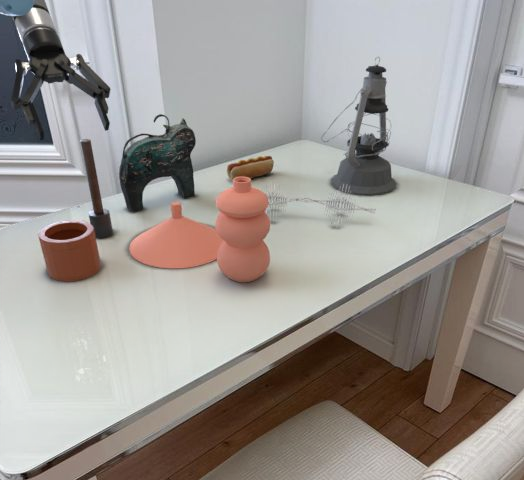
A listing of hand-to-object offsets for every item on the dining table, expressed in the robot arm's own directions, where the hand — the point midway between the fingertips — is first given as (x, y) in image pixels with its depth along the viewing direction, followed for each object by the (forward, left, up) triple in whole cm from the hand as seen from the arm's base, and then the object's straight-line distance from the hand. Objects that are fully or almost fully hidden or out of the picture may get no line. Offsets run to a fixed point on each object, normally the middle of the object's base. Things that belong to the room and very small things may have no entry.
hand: (75, 131), depth 114 cm
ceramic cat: (+12, +14, -20) cm, 28 cm away
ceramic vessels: (+29, -12, -20) cm, 37 cm away
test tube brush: (+48, +10, -20) cm, 53 cm away
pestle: (+5, -6, -20) cm, 21 cm away
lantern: (+59, +36, -20) cm, 72 cm away
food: (+30, +35, -20) cm, 50 cm away
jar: (+6, -22, -20) cm, 30 cm away
